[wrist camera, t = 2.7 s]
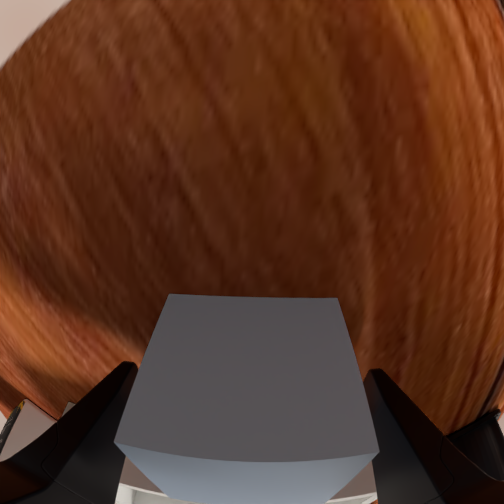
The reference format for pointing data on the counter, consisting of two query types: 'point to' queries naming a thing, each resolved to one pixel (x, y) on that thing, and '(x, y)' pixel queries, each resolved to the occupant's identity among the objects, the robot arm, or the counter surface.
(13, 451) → the medicine bottle
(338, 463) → the block
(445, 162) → the counter surface
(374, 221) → the counter surface
